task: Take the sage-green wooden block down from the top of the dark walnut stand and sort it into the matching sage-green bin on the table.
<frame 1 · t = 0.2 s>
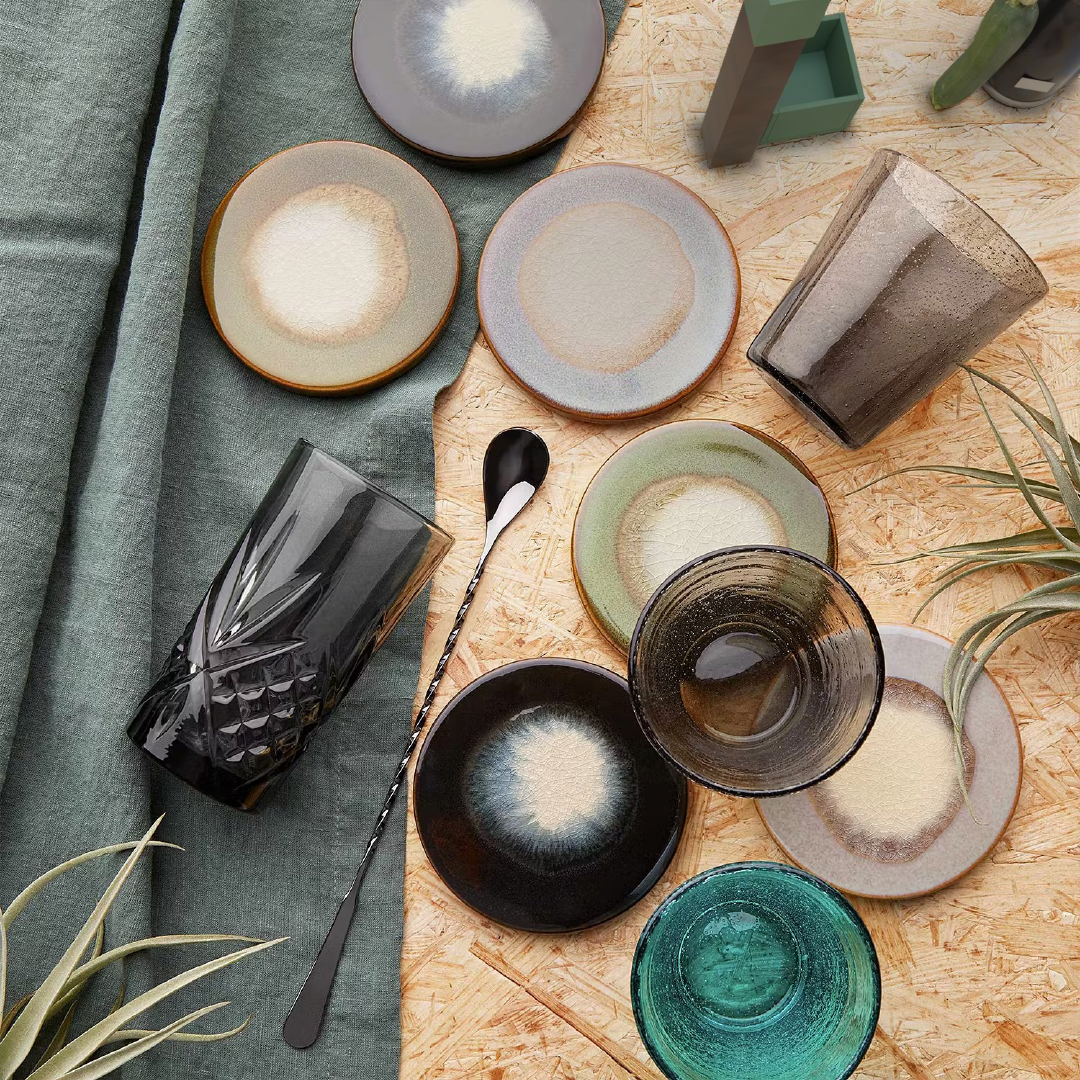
vegetable: (941, 109, 96), on the table
sage block: (777, 14, 75), point 20 cm above the table, touching stand
stand: (725, 145, 95), on the table
sage bin: (792, 96, 96), on the table
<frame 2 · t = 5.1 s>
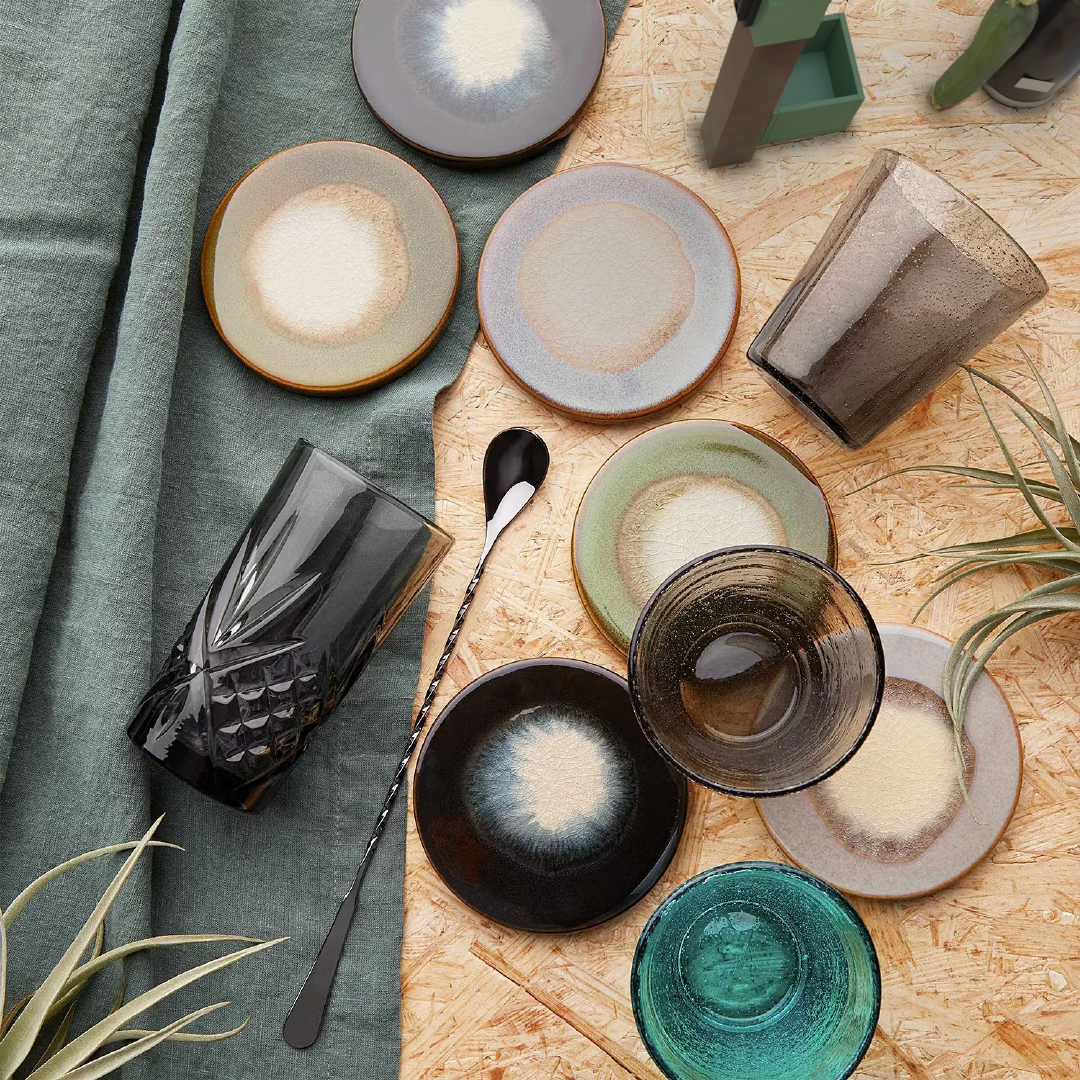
hand: (779, 10, 75), 20 cm above the table, tool pointing down, fingers closed on sage block, 5 cm apart
sage block: (777, 14, 75), point 20 cm above the table, touching gripper, stand
everything else where it was.
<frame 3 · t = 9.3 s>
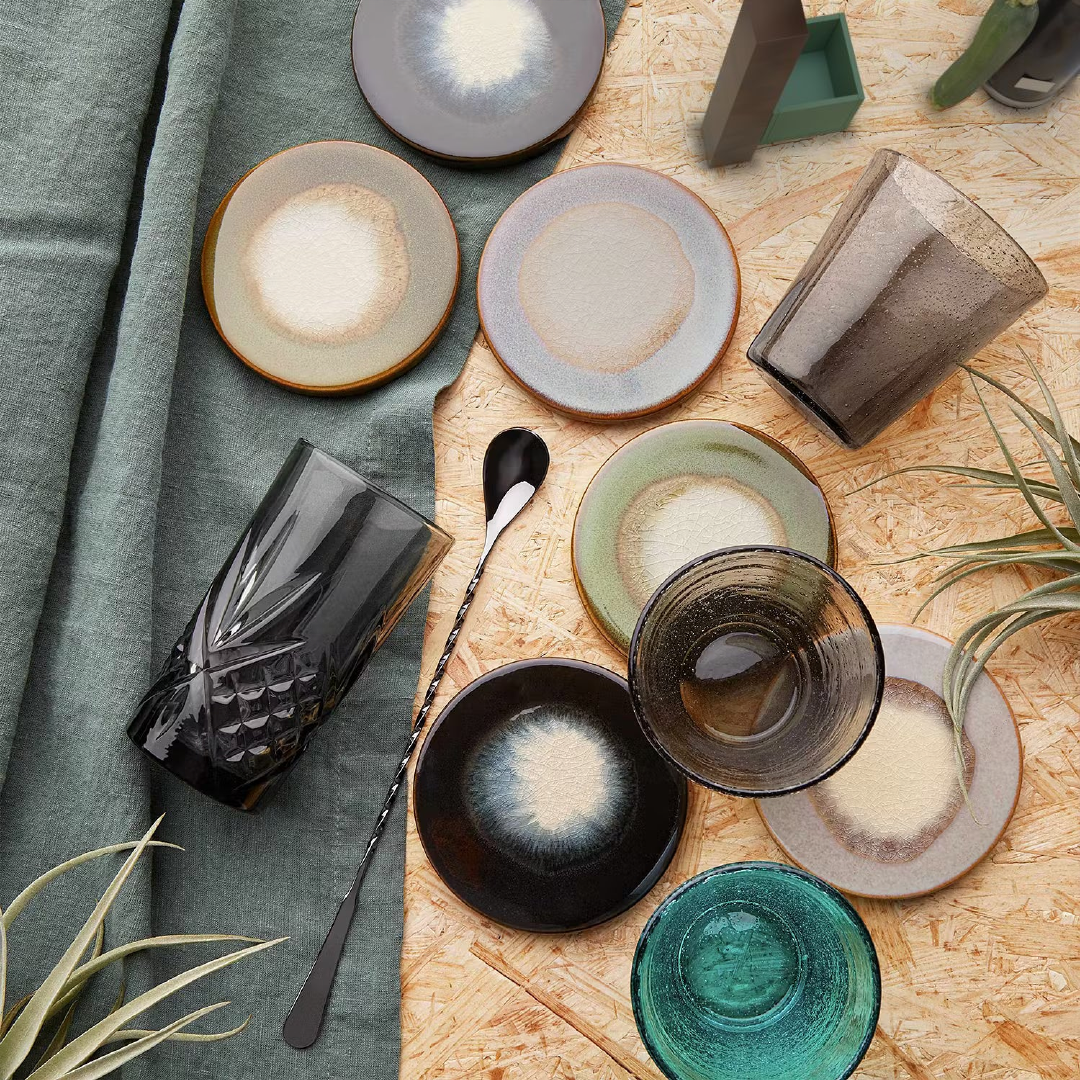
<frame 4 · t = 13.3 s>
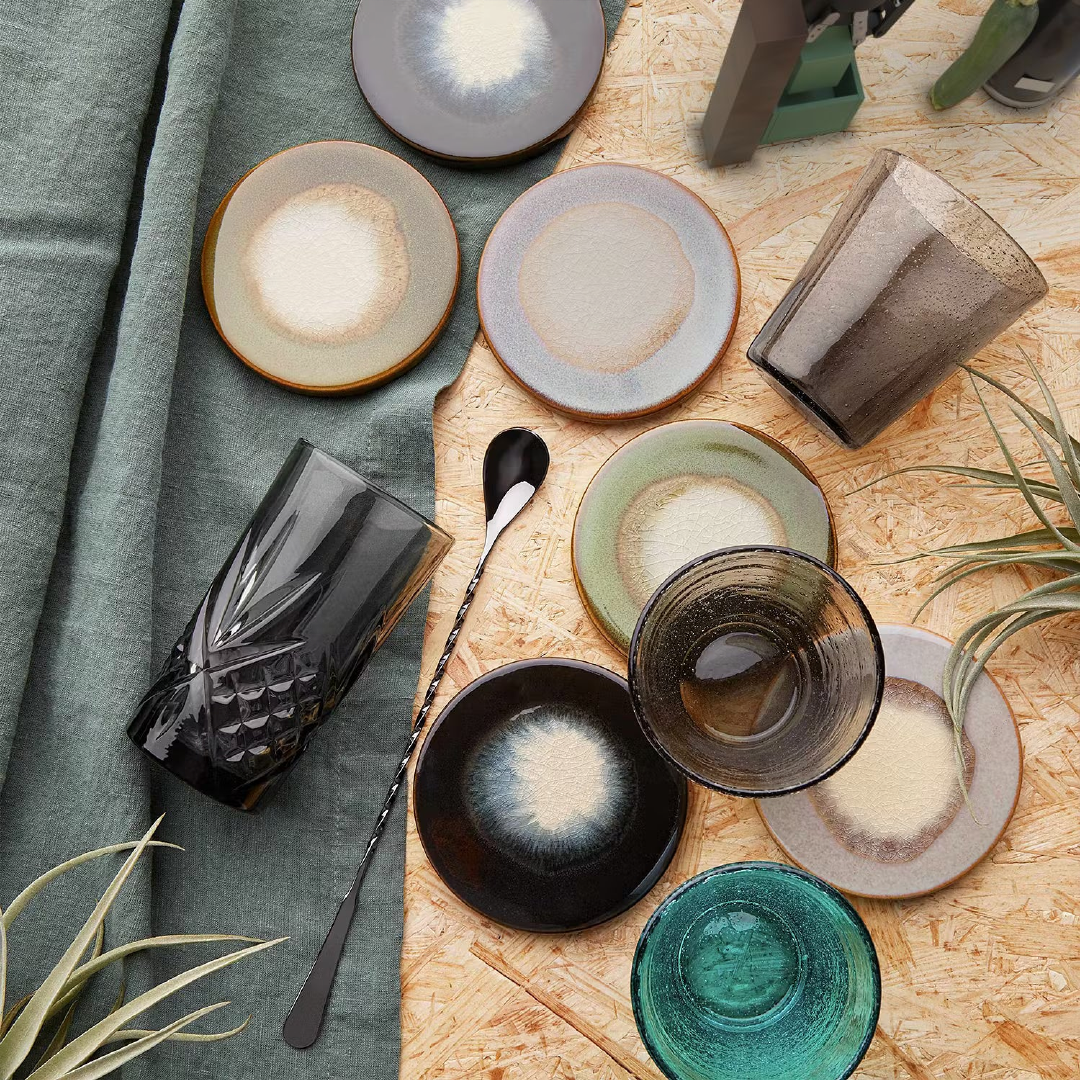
hand: (808, 64, 91), 5 cm above the table, tool pointing down, fingers closed on sage block, 5 cm apart
sage block: (806, 66, 91), point 5 cm above the table, touching gripper
everything else where it was.
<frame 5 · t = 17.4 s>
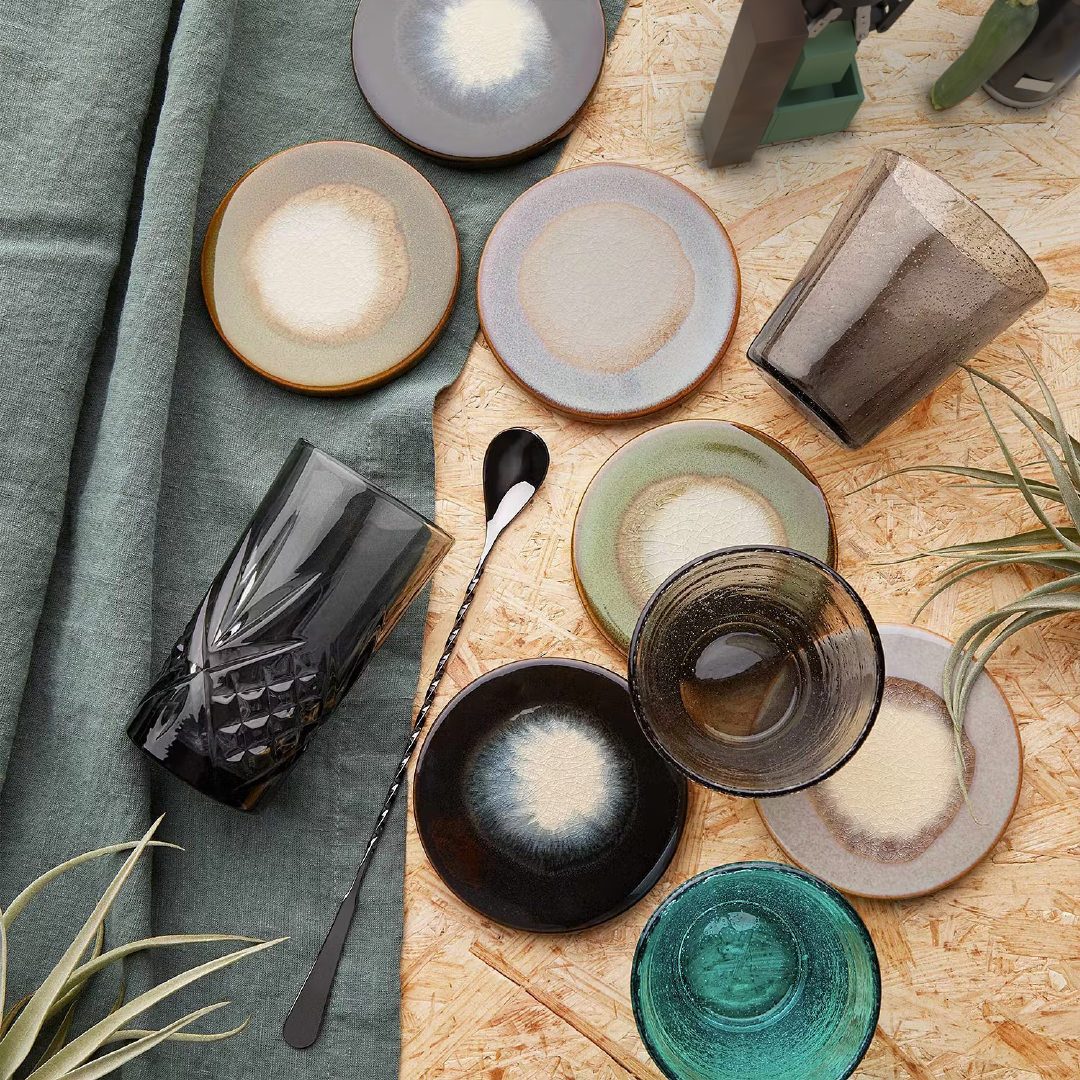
hand: (811, 59, 90), 6 cm above the table, tool pointing down, fingers closed on sage block, 5 cm apart
sage block: (809, 62, 91), point 5 cm above the table, touching gripper
everything else where it was.
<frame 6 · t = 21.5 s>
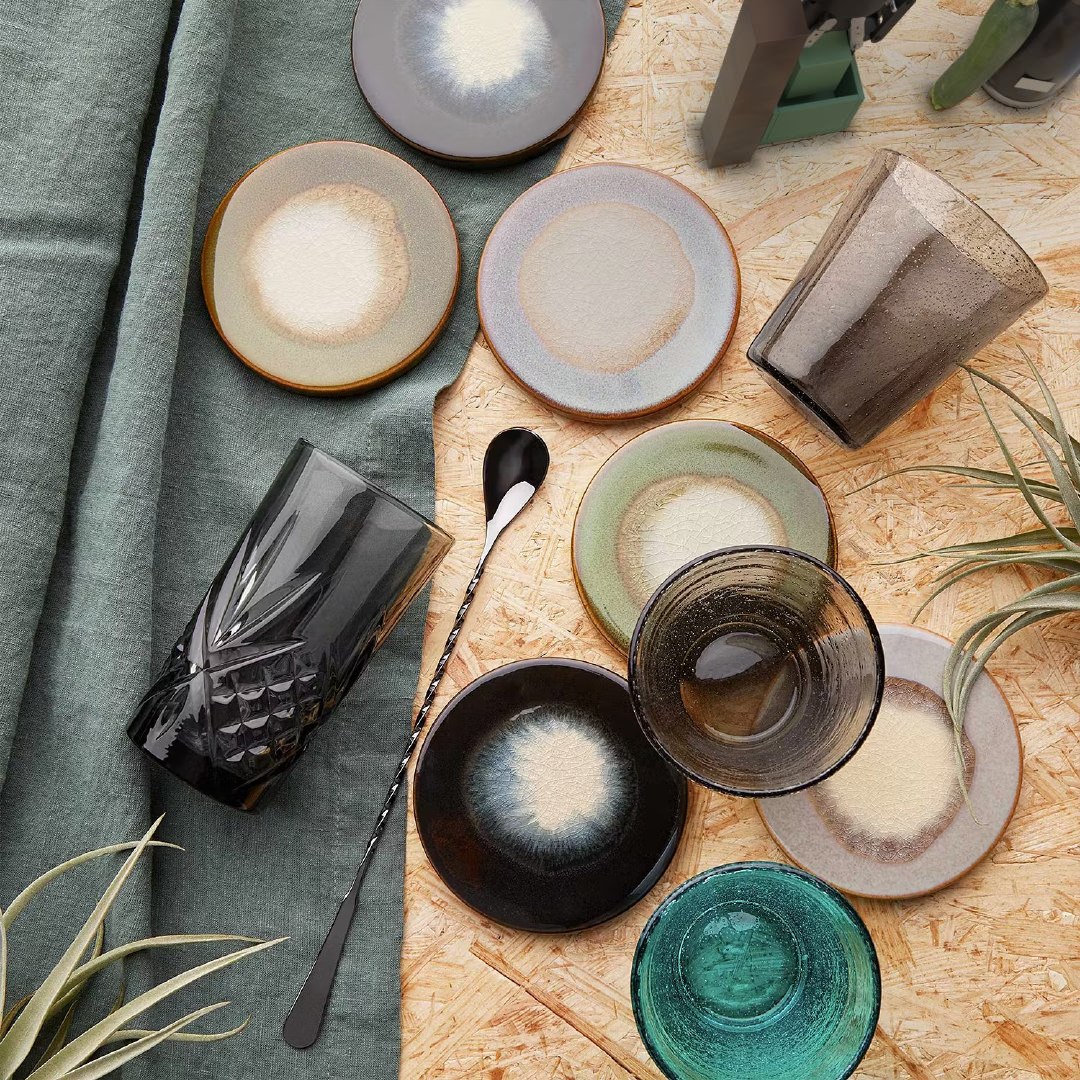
hand: (806, 68, 92), 5 cm above the table, tool pointing down, fingers closed on sage block, 5 cm apart
sage block: (805, 71, 92), point 4 cm above the table, touching gripper
everything else where it was.
when the fingers open (6 cm above the table, at t = 23.5 s): sage block drops 5 cm, resting on sage bin.
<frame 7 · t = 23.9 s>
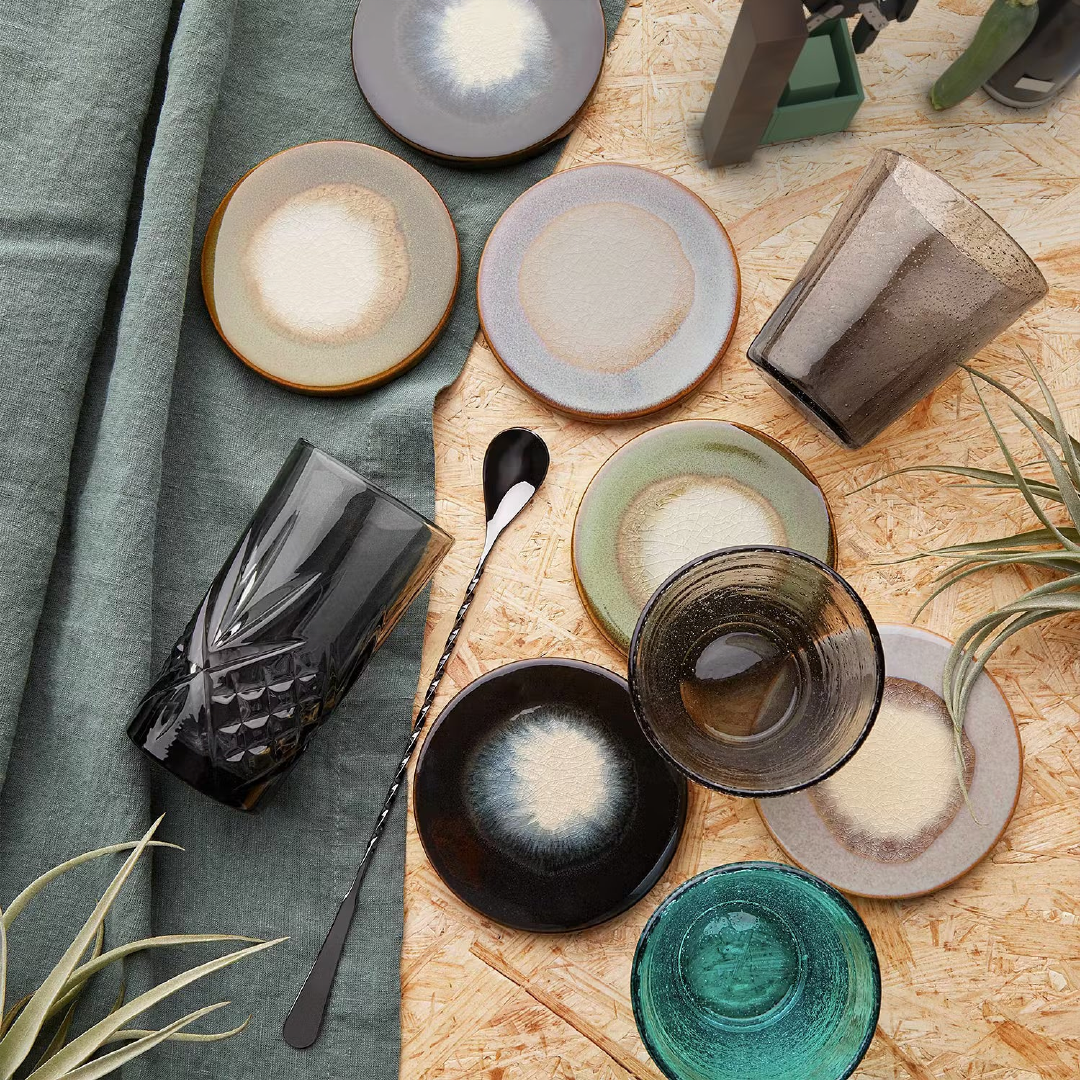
hand: (813, 52, 89), 7 cm above the table, tool pointing down, fingers open, 8 cm apart
sage block: (795, 92, 95), point 1 cm above the table, touching sage bin
everything else where it was.
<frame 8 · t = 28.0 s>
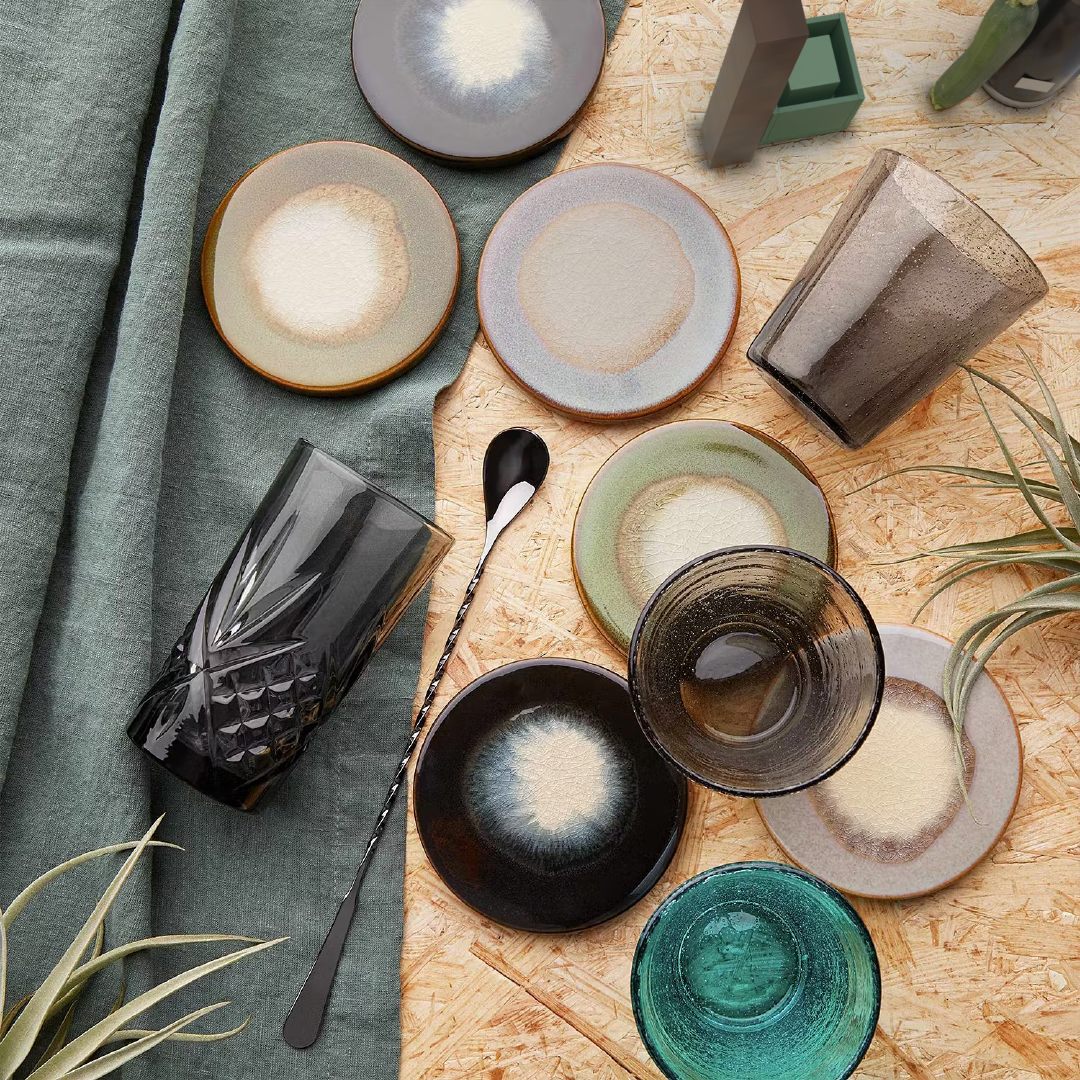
nothing on the table moved.
at the end: sage block inside the target area in the sage bin (0.1 cm from its centre), point 0.6 cm above the sage bin's base; the gripper is holding nothing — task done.
